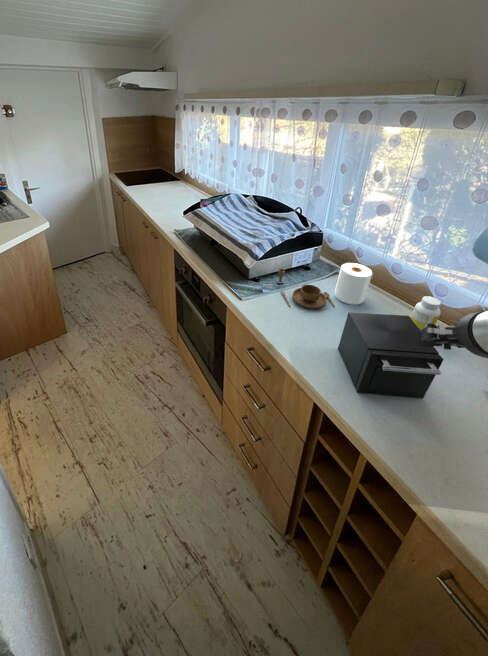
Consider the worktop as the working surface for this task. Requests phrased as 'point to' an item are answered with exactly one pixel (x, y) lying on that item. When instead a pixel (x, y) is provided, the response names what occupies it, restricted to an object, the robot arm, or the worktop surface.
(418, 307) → the pill bottle
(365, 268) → the toilet paper
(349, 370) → the oven
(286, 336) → the worktop surface
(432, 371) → the oven door
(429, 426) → the worktop surface
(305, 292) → the place setting
